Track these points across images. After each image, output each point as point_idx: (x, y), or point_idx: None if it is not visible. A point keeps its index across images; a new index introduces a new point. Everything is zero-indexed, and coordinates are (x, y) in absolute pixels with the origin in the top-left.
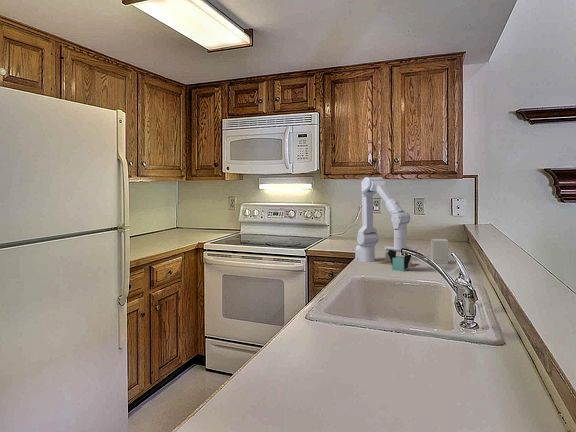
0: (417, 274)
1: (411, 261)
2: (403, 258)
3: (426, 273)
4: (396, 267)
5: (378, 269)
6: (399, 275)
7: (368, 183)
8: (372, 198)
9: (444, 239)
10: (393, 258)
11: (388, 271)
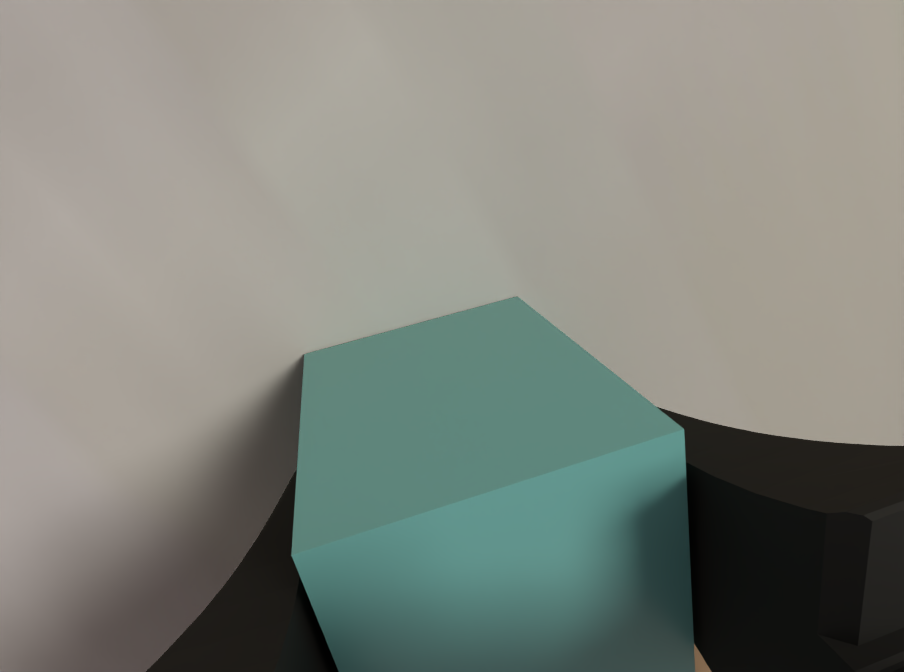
0: (71, 484)
1: None
2: (369, 620)
3: (26, 650)
4: (467, 350)
5: (784, 286)
6: (252, 148)
7: None
8: None
9: None
10: (646, 429)
11: (594, 287)
